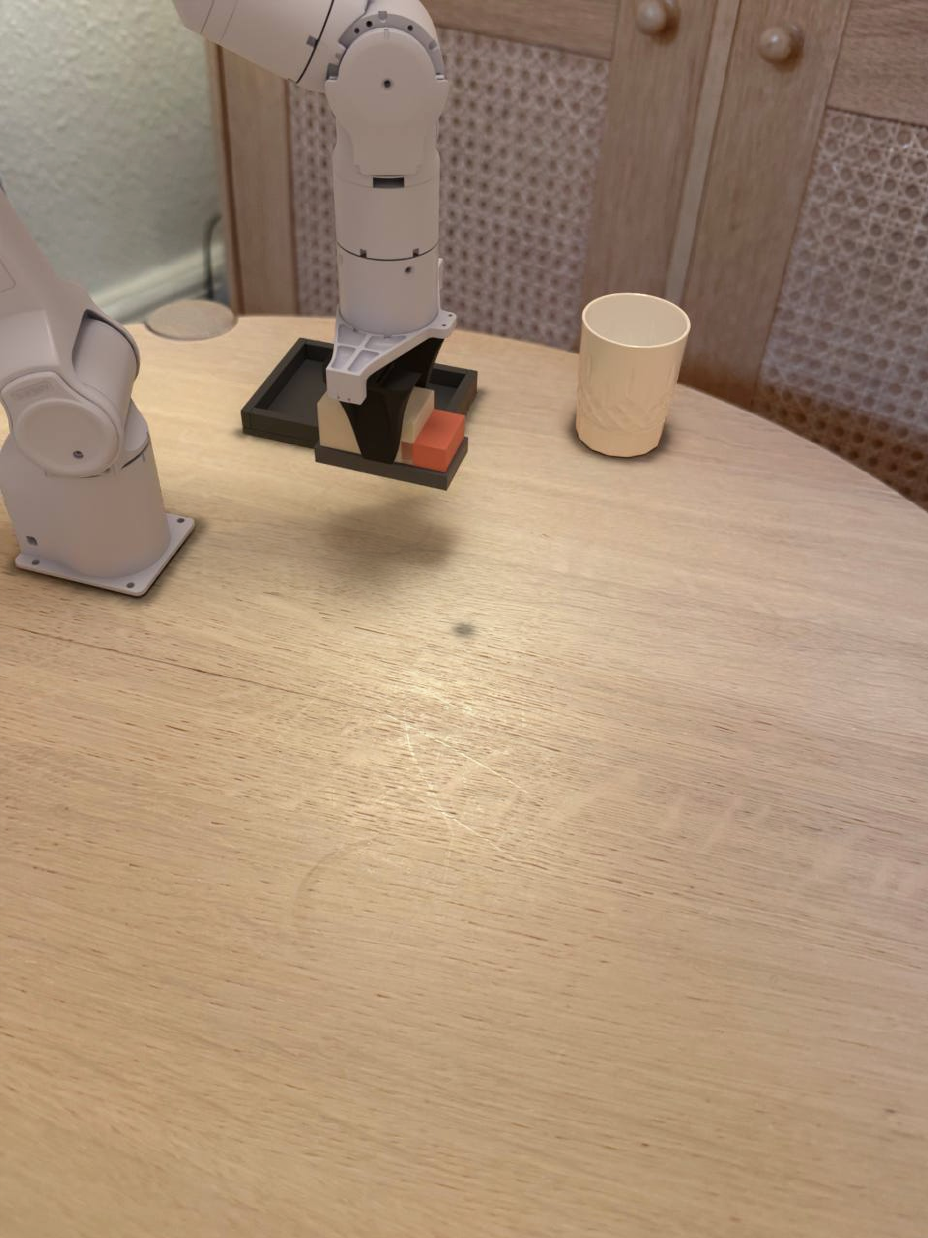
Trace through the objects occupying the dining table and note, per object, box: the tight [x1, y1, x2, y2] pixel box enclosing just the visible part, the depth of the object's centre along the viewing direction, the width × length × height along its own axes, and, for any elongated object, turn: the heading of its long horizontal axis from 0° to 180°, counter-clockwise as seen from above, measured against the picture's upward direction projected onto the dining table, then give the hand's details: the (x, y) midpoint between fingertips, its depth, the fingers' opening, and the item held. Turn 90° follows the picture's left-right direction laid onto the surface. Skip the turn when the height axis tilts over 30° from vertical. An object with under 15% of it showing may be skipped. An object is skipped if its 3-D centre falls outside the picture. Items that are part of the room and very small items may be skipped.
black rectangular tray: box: [240, 337, 479, 449], centre depth 86 cm, size 16×12×2 cm
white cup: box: [575, 292, 692, 458], centre depth 82 cm, size 8×8×10 cm
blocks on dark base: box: [313, 386, 469, 492], centre depth 69 cm, size 9×4×4 cm, turn 73°
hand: (391, 439), depth 70 cm, fingers closed on blocks on dark base, 4 cm apart
